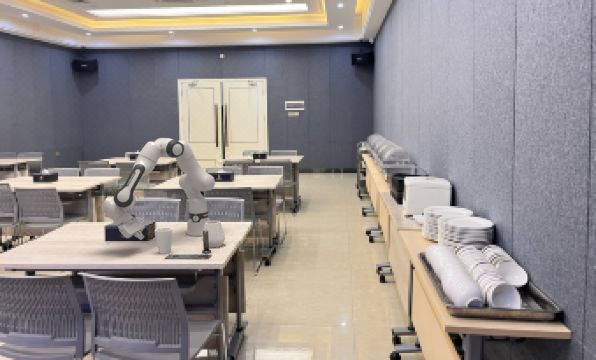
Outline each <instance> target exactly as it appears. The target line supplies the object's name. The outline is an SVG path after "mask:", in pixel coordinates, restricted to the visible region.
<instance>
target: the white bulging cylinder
mask: <svg viewBox="0 0 596 360" xmlns="http://www.w3.org/2000/svg"><path fill="white" fill-rule="evenodd" d="M204 231H208V236H209V249H212V248H220V247H222V246H223V244H224V242H225V241H226V236H225V233H224V229H223V225H222V223H221V221H220V220H211V221H208V222H206V223H205V226H204ZM201 241H202V242H203V236H201Z"/></svg>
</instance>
